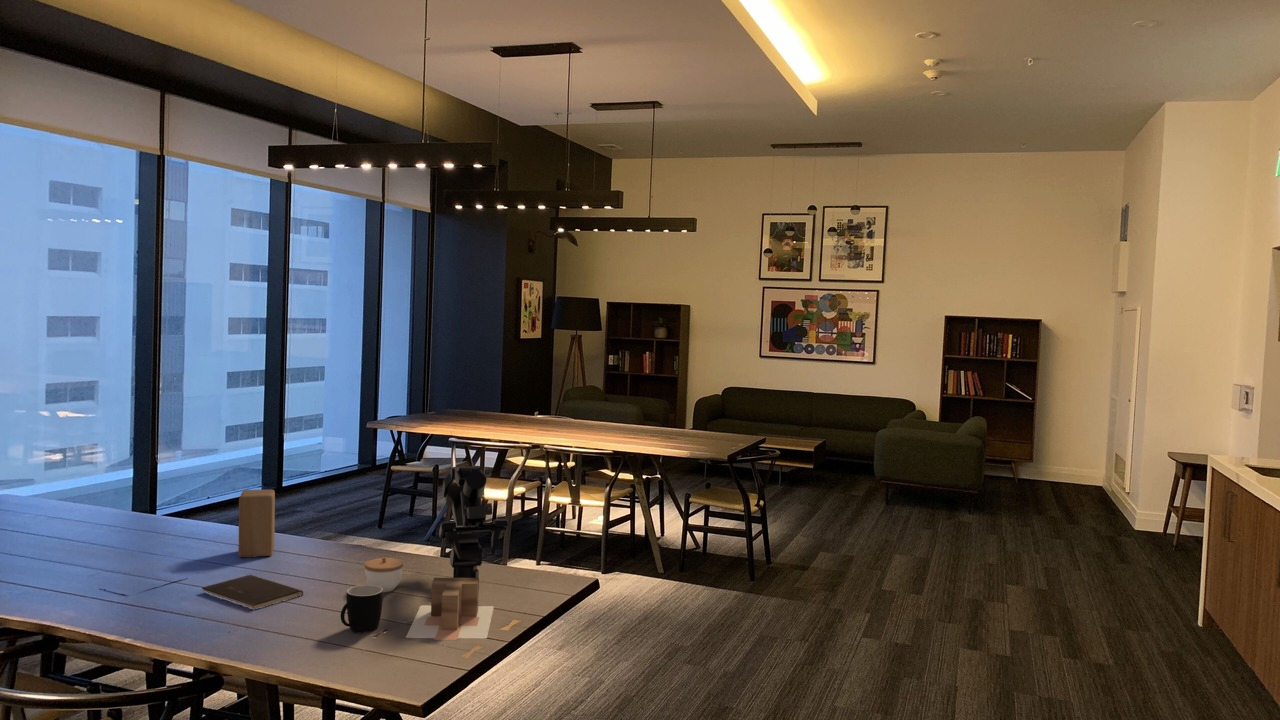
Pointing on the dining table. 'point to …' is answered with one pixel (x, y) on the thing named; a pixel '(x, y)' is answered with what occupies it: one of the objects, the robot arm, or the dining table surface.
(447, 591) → the t block
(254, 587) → the hardcover book
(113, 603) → the dining table surface
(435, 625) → the mat
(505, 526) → the robot arm
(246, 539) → the block
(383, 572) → the lidded jar
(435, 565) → the dining table surface
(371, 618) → the mug
